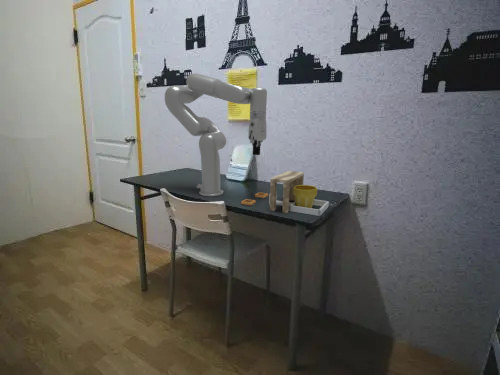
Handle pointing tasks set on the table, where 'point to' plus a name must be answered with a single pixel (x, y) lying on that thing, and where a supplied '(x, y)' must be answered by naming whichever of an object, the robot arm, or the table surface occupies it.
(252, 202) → the pit tray near right
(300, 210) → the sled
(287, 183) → the tunnel
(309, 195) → the plant pot
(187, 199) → the table surface
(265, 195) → the pit tray near left
